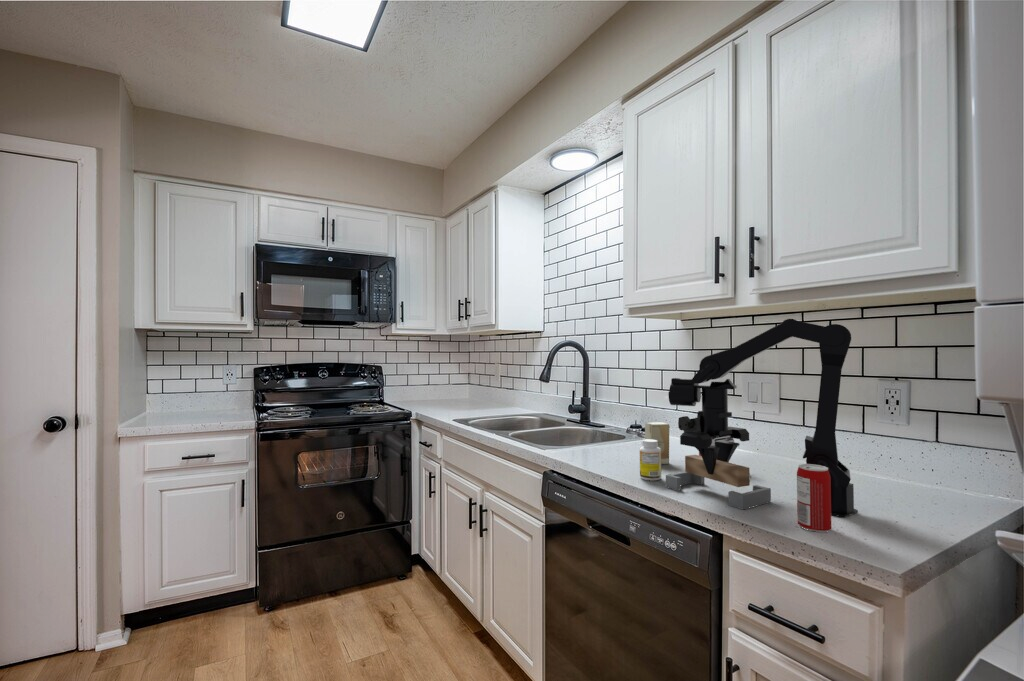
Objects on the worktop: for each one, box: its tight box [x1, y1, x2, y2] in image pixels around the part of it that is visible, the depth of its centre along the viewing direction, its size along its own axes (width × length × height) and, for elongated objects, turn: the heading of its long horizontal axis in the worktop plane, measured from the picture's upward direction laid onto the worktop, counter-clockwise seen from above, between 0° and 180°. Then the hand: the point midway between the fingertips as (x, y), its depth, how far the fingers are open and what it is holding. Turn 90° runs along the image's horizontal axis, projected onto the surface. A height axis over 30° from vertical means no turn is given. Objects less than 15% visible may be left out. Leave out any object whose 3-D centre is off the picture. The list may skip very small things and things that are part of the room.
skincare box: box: [644, 421, 670, 465], centre depth 151 cm, size 6×4×12 cm
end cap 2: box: [727, 484, 772, 510], centre depth 110 cm, size 4×10×3 cm, turn 122°
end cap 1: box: [665, 470, 705, 491], centre depth 125 cm, size 4×10×3 cm, turn 122°
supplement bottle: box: [639, 438, 662, 482], centre depth 132 cm, size 6×6×10 cm
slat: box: [684, 454, 751, 488], centre depth 118 cm, size 16×4×4 cm, turn 25°
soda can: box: [796, 463, 832, 533], centre depth 95 cm, size 6×6×12 cm
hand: (715, 473), depth 118 cm, fingers closed on slat, 4 cm apart
